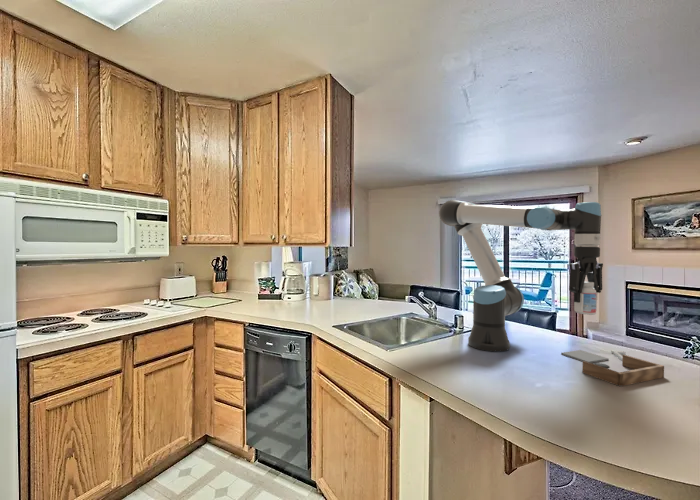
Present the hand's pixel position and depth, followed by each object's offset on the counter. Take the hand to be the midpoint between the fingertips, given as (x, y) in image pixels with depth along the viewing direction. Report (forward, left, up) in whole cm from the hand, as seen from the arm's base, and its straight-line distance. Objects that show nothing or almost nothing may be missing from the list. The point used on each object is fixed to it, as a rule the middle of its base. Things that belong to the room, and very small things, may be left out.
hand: (585, 310), depth 121 cm
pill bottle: (0, 0, -1) cm, 1 cm away
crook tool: (+12, -6, -17) cm, 22 cm away
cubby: (-5, -15, -17) cm, 23 cm away
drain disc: (-3, -8, -17) cm, 19 cm away
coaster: (0, 0, -17) cm, 17 cm away
